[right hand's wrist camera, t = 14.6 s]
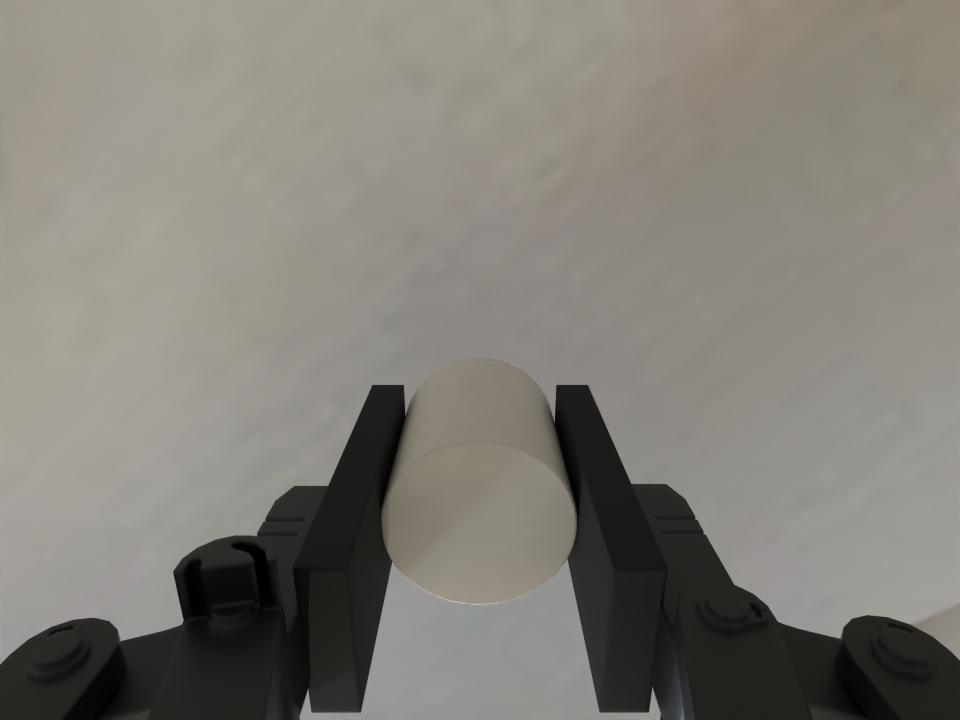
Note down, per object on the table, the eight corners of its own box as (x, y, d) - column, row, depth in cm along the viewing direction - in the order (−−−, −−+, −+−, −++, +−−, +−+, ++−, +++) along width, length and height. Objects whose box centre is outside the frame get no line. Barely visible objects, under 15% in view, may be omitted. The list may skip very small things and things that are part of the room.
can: (377, 401, 15) (340, 496, 11) (507, 330, 14) (518, 404, 10) (454, 511, 16) (445, 633, 12) (577, 450, 15) (611, 557, 11)
